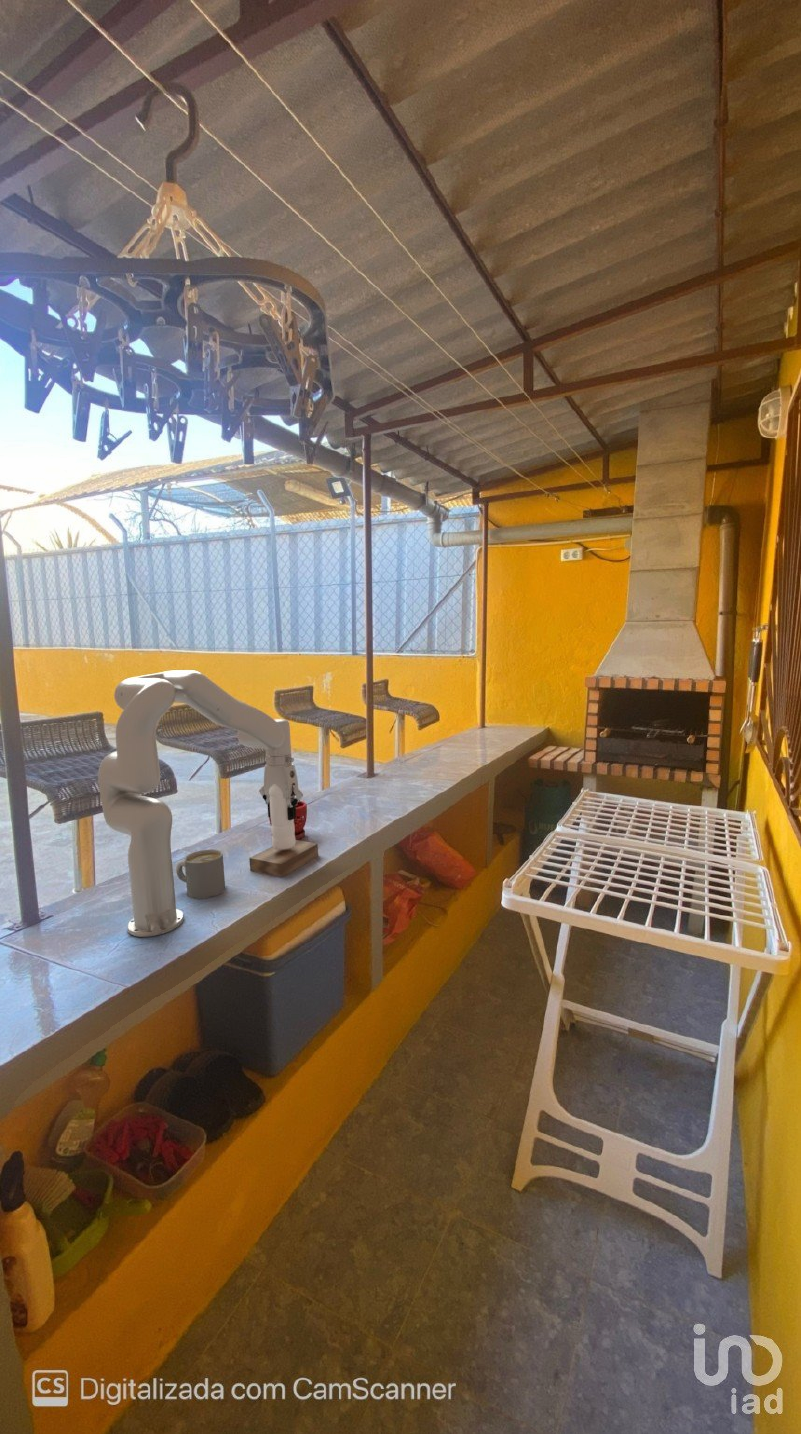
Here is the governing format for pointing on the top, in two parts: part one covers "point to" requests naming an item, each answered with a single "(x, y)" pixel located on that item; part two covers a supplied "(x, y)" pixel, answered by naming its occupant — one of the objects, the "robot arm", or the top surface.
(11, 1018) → the top surface
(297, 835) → the plant pot
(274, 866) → the walnut stand
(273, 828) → the water bottle
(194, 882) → the coffee mug
